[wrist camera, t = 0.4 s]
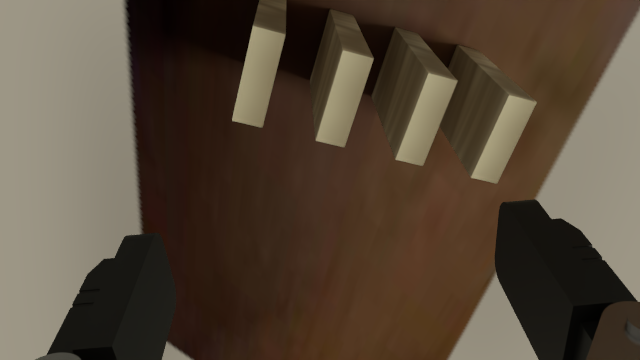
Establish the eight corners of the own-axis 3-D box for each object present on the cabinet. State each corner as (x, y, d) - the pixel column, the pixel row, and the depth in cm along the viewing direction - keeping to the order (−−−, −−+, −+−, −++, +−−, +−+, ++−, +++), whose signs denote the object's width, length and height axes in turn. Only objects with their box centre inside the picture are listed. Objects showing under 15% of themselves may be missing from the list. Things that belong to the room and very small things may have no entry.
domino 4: (430, 111, 39) (470, 177, 31) (457, 44, 37) (509, 94, 28) (451, 116, 40) (496, 183, 31) (478, 50, 37) (536, 102, 29)
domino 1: (245, 64, 37) (232, 120, 28) (262, -11, 35) (252, 25, 26) (268, 70, 37) (262, 127, 29) (286, -4, 35) (285, 34, 26)
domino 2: (309, 80, 38) (315, 140, 29) (330, 8, 36) (342, 50, 27) (331, 86, 38) (344, 147, 29) (353, 15, 36) (374, 58, 27)
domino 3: (371, 96, 39) (395, 159, 30) (394, 27, 36) (428, 73, 28) (392, 101, 39) (422, 165, 30) (417, 33, 37) (457, 80, 28)
